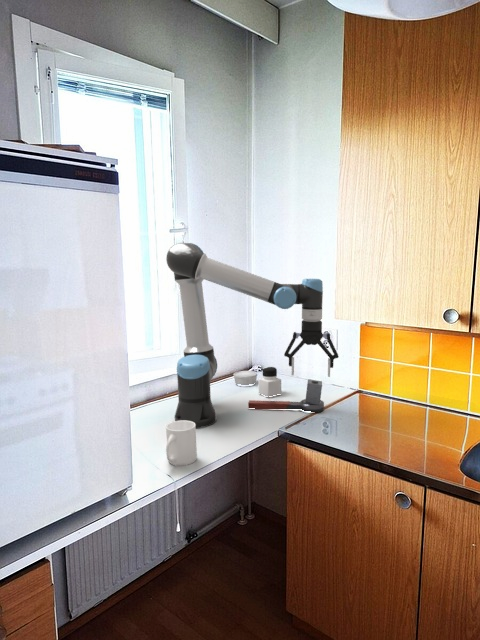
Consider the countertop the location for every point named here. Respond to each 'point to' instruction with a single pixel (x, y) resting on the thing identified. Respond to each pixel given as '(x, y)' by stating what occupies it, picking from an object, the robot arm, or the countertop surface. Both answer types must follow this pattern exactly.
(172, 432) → the mug
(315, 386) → the socket
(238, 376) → the ramekin
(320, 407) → the ratchet
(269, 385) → the medicine bottle
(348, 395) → the countertop surface
